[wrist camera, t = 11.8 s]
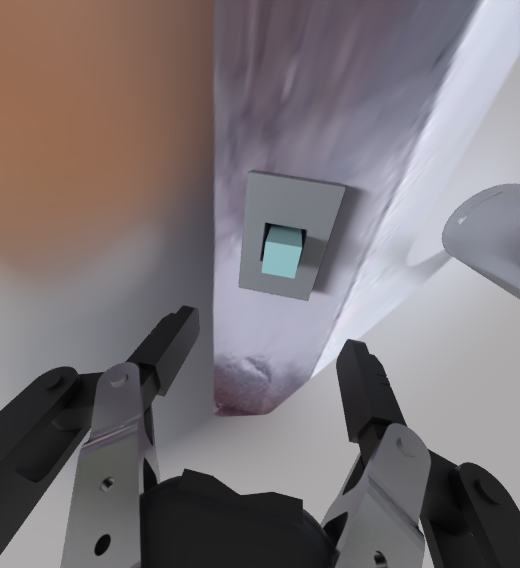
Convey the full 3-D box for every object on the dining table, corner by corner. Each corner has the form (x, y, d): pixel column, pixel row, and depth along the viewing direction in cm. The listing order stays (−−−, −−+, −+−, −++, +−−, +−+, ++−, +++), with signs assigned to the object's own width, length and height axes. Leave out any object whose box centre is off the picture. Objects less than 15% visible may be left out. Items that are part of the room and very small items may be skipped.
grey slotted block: (253, 169, 25) (247, 171, 22) (340, 183, 25) (345, 187, 22) (243, 276, 34) (238, 287, 31) (307, 288, 33) (308, 301, 30)
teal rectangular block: (301, 225, 28) (302, 247, 21) (294, 251, 30) (294, 278, 24) (273, 221, 28) (265, 241, 22) (269, 247, 31) (261, 272, 24)
